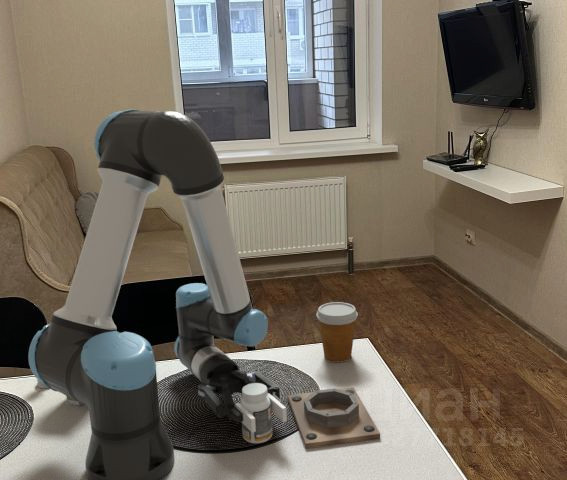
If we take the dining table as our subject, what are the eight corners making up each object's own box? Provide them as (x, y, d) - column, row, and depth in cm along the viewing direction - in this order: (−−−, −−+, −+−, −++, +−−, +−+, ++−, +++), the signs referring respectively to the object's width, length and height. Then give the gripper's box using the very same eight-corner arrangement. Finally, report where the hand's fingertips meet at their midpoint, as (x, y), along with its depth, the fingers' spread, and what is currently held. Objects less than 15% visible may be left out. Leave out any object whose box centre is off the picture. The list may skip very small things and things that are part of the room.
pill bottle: (274, 428, 125) (272, 381, 122) (270, 445, 119) (268, 396, 116) (244, 427, 125) (241, 381, 123) (240, 444, 120) (236, 396, 117)
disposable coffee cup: (363, 362, 150) (363, 313, 147) (323, 368, 148) (322, 318, 145) (350, 345, 159) (350, 299, 156) (313, 350, 157) (311, 304, 154)
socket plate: (305, 448, 118) (305, 431, 117) (287, 399, 135) (287, 384, 134) (380, 438, 120) (380, 421, 119) (353, 391, 137) (353, 376, 136)
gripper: (256, 375, 141) (314, 423, 122) (175, 399, 132) (223, 455, 113) (254, 343, 139) (312, 386, 120) (171, 365, 130) (220, 416, 111)
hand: (269, 420), depth 116 cm, fingers closed on pill bottle, 6 cm apart
